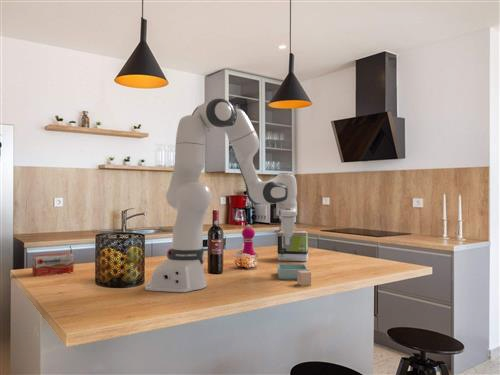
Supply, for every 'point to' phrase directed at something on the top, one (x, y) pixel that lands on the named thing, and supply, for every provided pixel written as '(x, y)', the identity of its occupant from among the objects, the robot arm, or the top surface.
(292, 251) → the tea box
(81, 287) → the top surface
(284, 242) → the grey block
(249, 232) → the pepper mill
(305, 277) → the stone sandstone
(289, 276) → the tub
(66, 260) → the medicine box
